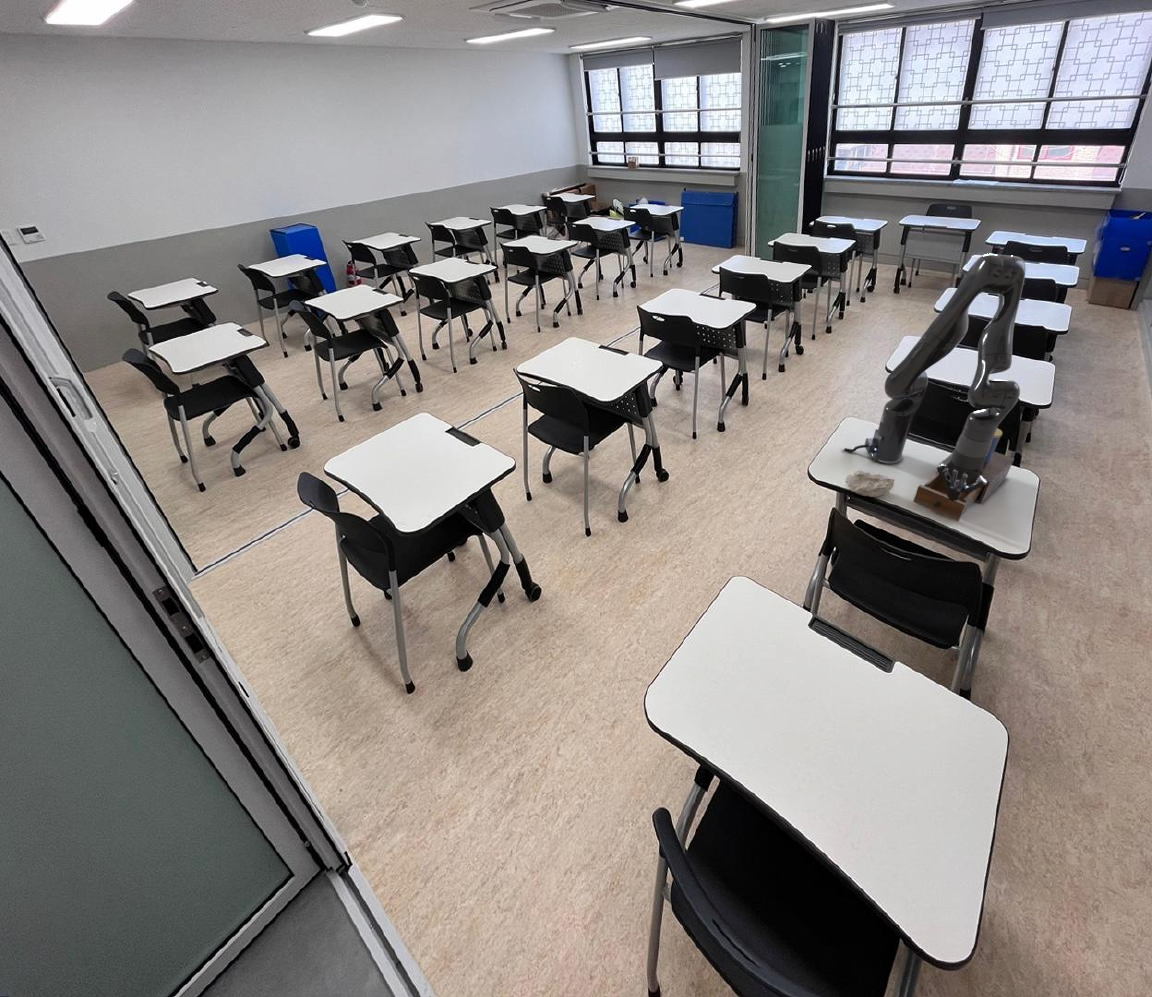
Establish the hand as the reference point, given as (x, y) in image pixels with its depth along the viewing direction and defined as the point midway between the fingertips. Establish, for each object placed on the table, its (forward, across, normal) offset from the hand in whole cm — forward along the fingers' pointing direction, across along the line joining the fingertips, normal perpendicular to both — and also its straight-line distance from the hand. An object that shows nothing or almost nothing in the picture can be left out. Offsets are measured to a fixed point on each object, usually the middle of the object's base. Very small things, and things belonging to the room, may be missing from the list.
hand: (952, 499), depth 164 cm
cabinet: (+11, +4, -28) cm, 30 cm away
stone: (+11, +24, -1) cm, 26 cm away
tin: (+2, +4, -30) cm, 31 cm away
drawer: (+10, +4, -12) cm, 16 cm away
